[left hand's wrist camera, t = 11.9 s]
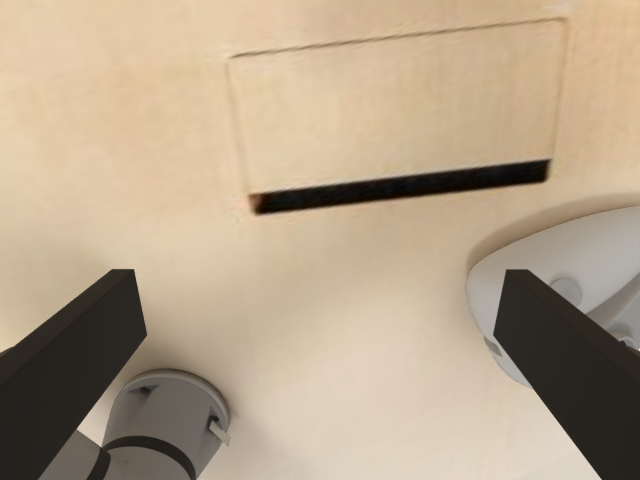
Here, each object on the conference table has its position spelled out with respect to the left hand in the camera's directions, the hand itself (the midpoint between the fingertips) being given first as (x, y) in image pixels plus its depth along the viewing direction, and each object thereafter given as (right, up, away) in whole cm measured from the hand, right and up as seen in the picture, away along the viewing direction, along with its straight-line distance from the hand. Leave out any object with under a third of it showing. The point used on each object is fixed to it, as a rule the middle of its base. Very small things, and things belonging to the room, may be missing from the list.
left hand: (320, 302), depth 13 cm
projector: (+28, -1, +29) cm, 40 cm away
